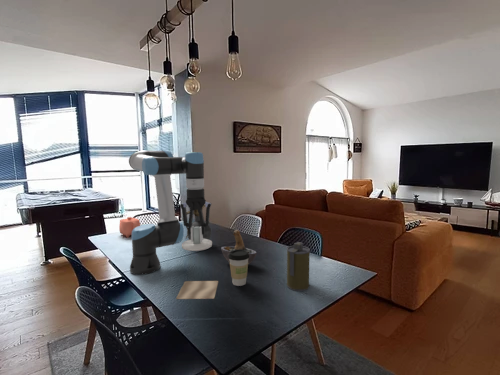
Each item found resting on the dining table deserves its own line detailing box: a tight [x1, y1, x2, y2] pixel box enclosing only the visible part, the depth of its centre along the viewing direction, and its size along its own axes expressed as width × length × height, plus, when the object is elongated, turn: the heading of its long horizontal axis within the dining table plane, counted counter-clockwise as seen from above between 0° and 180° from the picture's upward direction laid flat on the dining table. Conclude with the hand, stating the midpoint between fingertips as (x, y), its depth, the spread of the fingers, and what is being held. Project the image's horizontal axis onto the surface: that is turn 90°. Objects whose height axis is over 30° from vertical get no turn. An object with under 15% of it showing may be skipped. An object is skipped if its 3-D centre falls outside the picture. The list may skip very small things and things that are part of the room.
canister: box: [286, 241, 311, 292], centre depth 120 cm, size 11×10×20 cm
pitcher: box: [185, 204, 212, 240], centre depth 176 cm, size 11×19×30 cm, turn 131°
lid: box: [181, 227, 213, 252], centre depth 116 cm, size 13×13×8 cm
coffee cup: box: [228, 249, 249, 287], centre depth 123 cm, size 10×10×15 cm
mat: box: [175, 280, 219, 300], centre depth 118 cm, size 16×16×1 cm
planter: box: [220, 229, 257, 265], centre depth 145 cm, size 15×17×20 cm
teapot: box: [119, 216, 141, 238], centre depth 206 cm, size 22×13×14 cm, turn 46°
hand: (197, 241), depth 116 cm, fingers closed on lid, 3 cm apart
